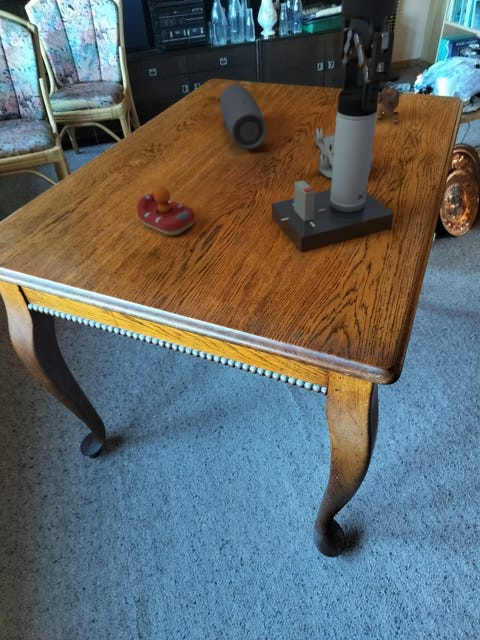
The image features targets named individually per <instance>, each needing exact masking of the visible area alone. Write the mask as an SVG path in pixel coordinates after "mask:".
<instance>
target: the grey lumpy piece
mask: <svg viewBox="0 0 480 640" xmlns="http://www.w3.org/2000/svg"><path fill="white" fill-rule="evenodd" d="M314 137H315V139H314V141H315V145H316V146H317V147H318V148H319V150H320V153H321V154H320V155H319V156H318V157H319V158H318V170H319V173H321V174H322V175H324V176H325V177H326V178H328V179H331V180H332V171H333V157H334V144H335V133H332V134H329V135H327V136H326V137H324V133H323V129H322V128H316V129H315V136H314ZM373 167H374V154H373V152H372V154H371V162H370V169H369V175H370V174H371V171H372V169H373Z"/></svg>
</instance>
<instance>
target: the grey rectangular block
mask: <svg viewBox="0 0 480 640" xmlns="http://www.w3.org/2000/svg"><path fill="white" fill-rule="evenodd" d="M293 190H294V191H293V198H294V211H295V212H296V213H297V214H298V215H299V216H300V217H301V218H302V220H303V221H304V222H305V221H309V220H313V218H314V198H315V193H316V191H315V189H314V188H313V187H312V186H311V185H309V184H308V182H306V181H305V180H304V179H303V180H298V181H294V186H293Z"/></svg>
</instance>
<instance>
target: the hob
mask: <svg viewBox="0 0 480 640" xmlns="http://www.w3.org/2000/svg"><path fill="white" fill-rule="evenodd" d="M330 197H331V188H330V189H327V190H322V191H318V192H315V198H314V218H313V220H309V221H305V222H304V221H303V220H302V218H301V217H300V216H299V215H298V214H297V213H296V212H295V211H294V197H293V198H289V199H285V200H281V201H276V202H272V203H271V218H272V220H273V221H274V222H275V223H276V224H277V226H278V227H279V228H280V229H281V230H282V231H283V232H284V234H285V236H287V238H289V240H290V241H291V242H292V243H293V245H294V246H295V247H296V248H297V249H298V250H299V252H300V253H303V252H304V253H305V252H307V251H312V250H314V249H318V248H323V247H326V246H330V245H335V244H338V243H340V242H345V241H348V240H353V239H356V238H359V237H363V236H367V235H371V234H374V233H378V232H382V231H385V230H390V229H392V227H393V221H394V215H395V213H394V212H393V211H392V210H390V209H389V208H388V207H386V206H385V205H384V204H383V203H381V201H380V200H378V199H377V198H376V197H374V196H373V195H372V194H370V193H369V192H368V191H367V192H366V200H365V206H364V207H363V208H362V209H361V210H358V211H355V212H341V211H338V210H336V209H334V208H333V207H332V206H331V205H330Z"/></svg>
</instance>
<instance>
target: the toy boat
mask: <svg viewBox="0 0 480 640" xmlns="http://www.w3.org/2000/svg"><path fill="white" fill-rule="evenodd" d="M136 212H137V216H138V218H139V220H140V221H141V223H142V224H144V226H146V227H148V228H150V229H153V230H155V231H157V232H159V233H161V234H163V235H166V236H172V237H173V236H177V235H180V234H181V233H182V232H185V231H186V230H188V229H189V228H191V227H192V226H193V225H194V223H195V220H196V213H195V211H194V210H193V208H191V207H189V206H186V205H184V204H181V203H180V202H179V203H178V202H176V201H174V200H171V193H170V190H169V189H168V188H166V187H163V186H161V187H157V188H156V189H155V190H154V192H153V193H148V194H145V195H143V196H142V197H141V198H140V199H139V200H138V202H137V205H136Z"/></svg>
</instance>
